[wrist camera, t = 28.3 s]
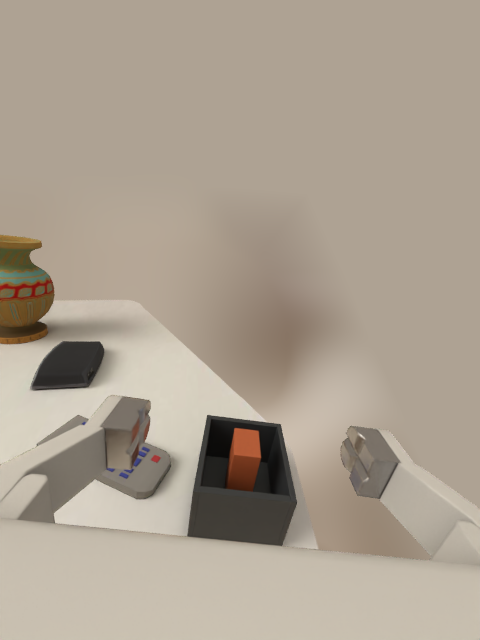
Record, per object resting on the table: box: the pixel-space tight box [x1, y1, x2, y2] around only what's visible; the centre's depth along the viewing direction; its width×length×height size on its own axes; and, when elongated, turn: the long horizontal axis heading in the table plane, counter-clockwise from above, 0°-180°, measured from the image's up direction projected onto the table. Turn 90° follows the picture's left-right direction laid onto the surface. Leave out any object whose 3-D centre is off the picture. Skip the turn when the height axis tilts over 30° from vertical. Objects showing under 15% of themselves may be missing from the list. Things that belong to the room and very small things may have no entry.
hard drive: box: [30, 341, 104, 389], centre depth 65 cm, size 13×19×4 cm
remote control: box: [37, 415, 171, 499], centre depth 43 cm, size 8×23×2 cm, turn 73°
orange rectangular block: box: [225, 428, 261, 492], centre depth 38 cm, size 4×5×11 cm
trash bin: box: [187, 415, 297, 546], centre depth 38 cm, size 14×14×10 cm
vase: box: [0, 235, 54, 344], centre depth 72 cm, size 20×20×30 cm
